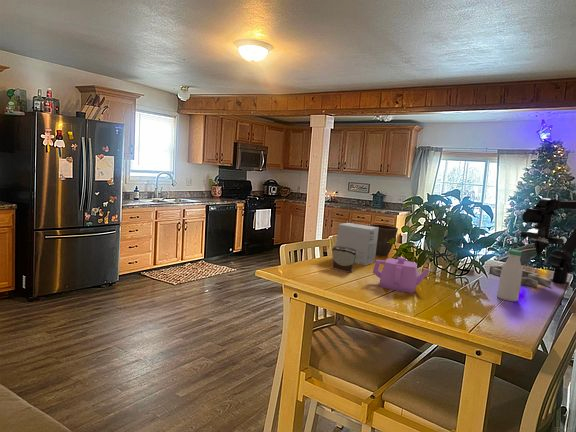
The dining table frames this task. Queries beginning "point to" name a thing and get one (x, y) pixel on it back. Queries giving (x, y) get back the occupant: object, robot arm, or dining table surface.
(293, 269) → the dining table surface
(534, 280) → the trap lane
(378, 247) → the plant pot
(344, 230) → the supplement box
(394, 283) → the teakettle
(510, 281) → the milk bottle
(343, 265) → the food container
